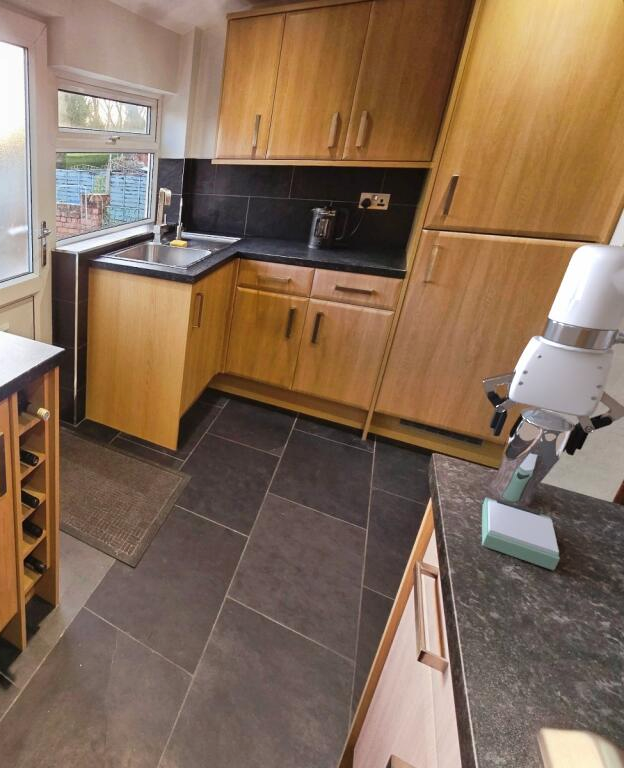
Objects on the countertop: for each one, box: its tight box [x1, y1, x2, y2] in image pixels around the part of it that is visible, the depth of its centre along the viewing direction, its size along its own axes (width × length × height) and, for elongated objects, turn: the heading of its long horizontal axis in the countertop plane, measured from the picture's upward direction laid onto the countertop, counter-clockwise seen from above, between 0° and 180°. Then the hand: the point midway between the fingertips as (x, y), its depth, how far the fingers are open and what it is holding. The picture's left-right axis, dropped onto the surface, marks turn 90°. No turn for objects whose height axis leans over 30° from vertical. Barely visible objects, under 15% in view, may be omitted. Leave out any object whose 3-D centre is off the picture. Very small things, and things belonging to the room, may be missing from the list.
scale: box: [481, 497, 561, 571], centre depth 72 cm, size 11×8×3 cm
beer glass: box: [487, 407, 576, 508], centre depth 78 cm, size 7×7×15 cm
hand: (531, 441), depth 77 cm, fingers open, 8 cm apart
